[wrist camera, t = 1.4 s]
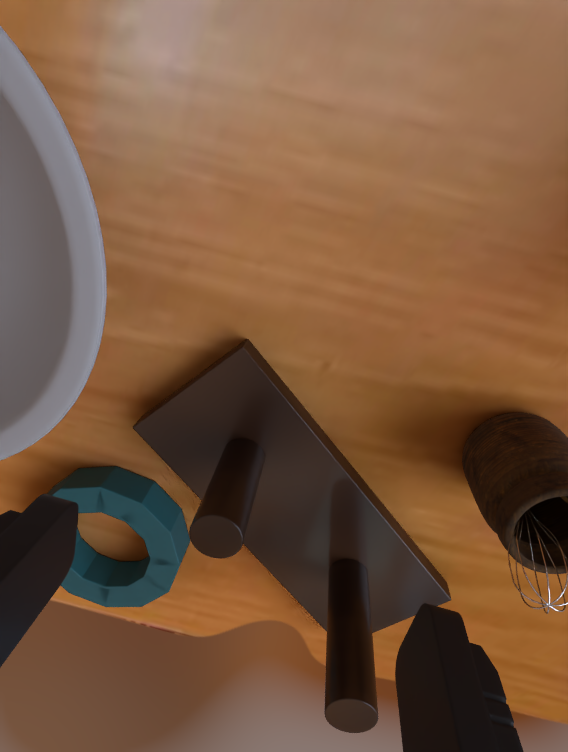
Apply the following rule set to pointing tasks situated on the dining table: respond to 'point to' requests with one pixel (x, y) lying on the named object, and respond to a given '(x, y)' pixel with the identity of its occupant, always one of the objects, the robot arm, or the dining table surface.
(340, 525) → the rack
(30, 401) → the vessel sink basin
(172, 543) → the teal faceted ring
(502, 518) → the utensil holder
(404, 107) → the dining table surface
